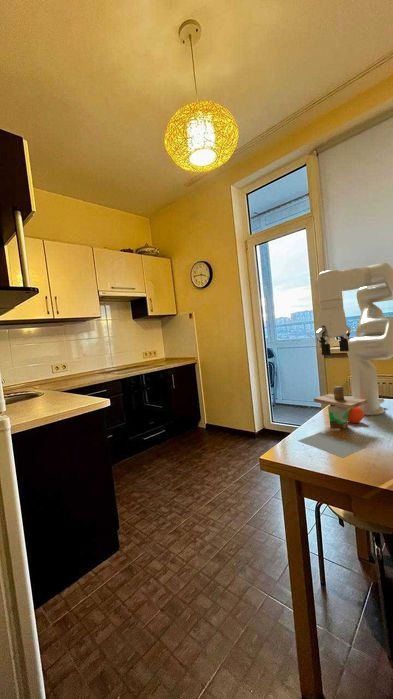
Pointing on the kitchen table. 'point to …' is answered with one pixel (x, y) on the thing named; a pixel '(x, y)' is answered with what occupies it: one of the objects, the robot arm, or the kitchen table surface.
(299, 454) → the kitchen table surface
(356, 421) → the clementine
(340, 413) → the food container
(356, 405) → the lid
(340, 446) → the mat
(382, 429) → the kitchen table surface
